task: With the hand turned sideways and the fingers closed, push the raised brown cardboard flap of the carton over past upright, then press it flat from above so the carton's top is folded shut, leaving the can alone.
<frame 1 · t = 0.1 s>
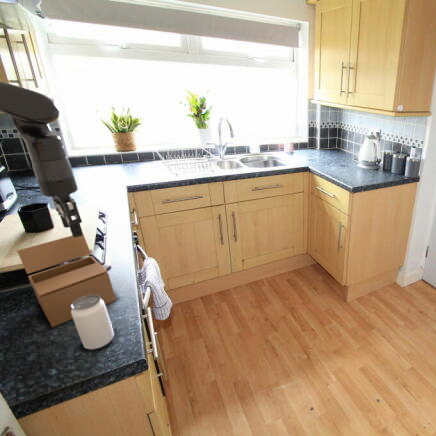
hand: (73, 231, 89), 20 cm above the worktop, tool pointing down, fingers open, 8 cm apart
carton: (78, 302, 92), on the worktop
flap: (56, 252, 92), point 13 cm above the worktop, hinge at 110.0°
can: (99, 341, 80), on the worktop
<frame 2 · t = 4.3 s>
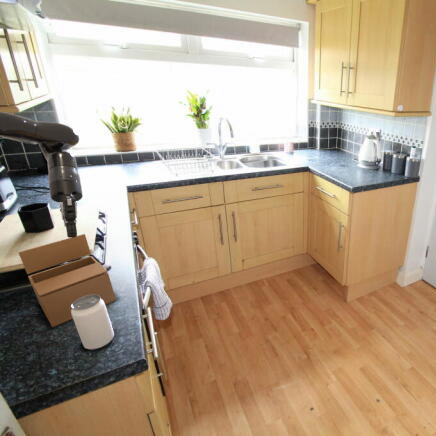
hand: (72, 236, 92), 18 cm above the worktop, tool tilted 45°, fingers closed
flap: (57, 253, 91), point 14 cm above the worktop, hinge at 89.0°, touching gripper
everything else where it was.
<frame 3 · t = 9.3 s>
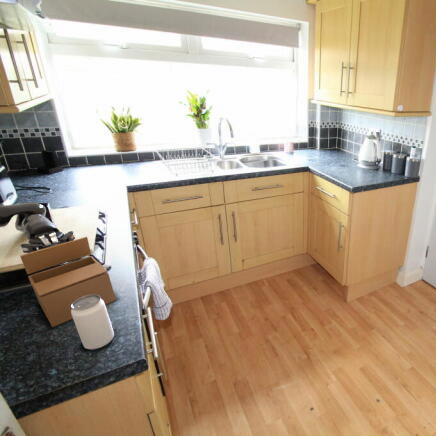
hand: (57, 251, 90), 14 cm above the worktop, tool horizontal, fingers closed
flap: (58, 254, 90), point 13 cm above the worktop, hinge at 73.3°, touching gripper
everything else where it was.
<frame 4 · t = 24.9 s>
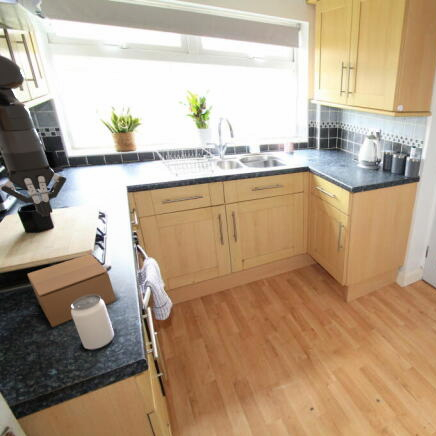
hand: (46, 215, 83), 27 cm above the worktop, tool pointing down, fingers closed
flap: (64, 268, 90), point 10 cm above the worktop, hinge at -1.2°
everything else where it was.
at the end: flap at -1° (first picture: +110°); can moved 0.2 cm from its start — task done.
